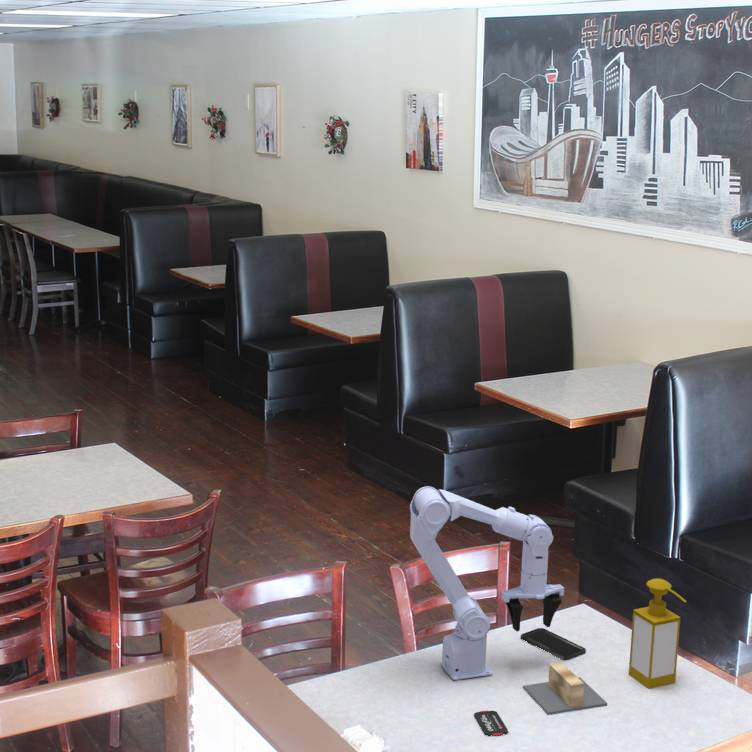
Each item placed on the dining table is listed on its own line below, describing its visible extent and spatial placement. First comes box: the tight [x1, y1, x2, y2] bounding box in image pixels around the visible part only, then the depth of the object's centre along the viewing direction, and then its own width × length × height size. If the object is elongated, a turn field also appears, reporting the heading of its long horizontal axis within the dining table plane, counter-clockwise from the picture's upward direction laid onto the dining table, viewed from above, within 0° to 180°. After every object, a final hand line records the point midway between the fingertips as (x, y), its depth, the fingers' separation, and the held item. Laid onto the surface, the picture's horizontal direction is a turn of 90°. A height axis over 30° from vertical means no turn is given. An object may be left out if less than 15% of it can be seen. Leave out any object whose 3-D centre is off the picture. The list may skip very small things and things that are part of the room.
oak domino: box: [547, 661, 584, 707], centre depth 235 cm, size 10×3×5 cm, turn 18°
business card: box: [473, 709, 509, 737], centre depth 224 cm, size 10×1×5 cm
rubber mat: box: [522, 676, 608, 715], centre depth 236 cm, size 14×12×1 cm
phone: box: [520, 627, 587, 662], centre depth 260 cm, size 8×1×15 cm
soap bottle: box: [628, 578, 687, 690], centre depth 240 cm, size 7×13×24 cm, turn 24°
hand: (531, 627), depth 248 cm, fingers open, 7 cm apart
